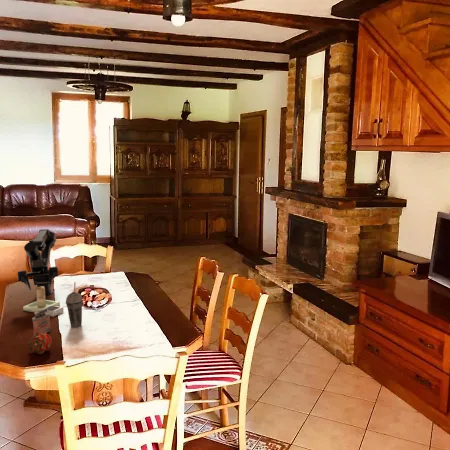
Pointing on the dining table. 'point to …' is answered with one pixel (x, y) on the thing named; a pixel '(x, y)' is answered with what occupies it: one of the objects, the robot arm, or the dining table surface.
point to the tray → (34, 308)
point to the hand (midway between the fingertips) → (40, 288)
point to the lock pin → (40, 297)
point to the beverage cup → (74, 308)
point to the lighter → (41, 321)
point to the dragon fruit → (40, 343)
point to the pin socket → (54, 310)
